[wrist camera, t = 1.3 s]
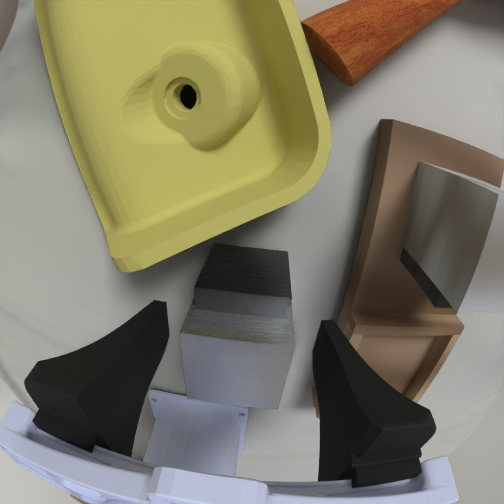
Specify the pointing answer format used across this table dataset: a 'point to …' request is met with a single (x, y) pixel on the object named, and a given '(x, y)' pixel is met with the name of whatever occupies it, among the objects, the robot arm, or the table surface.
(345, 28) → the kendama
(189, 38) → the plastic component
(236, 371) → the grey metal block
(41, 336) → the table surface
